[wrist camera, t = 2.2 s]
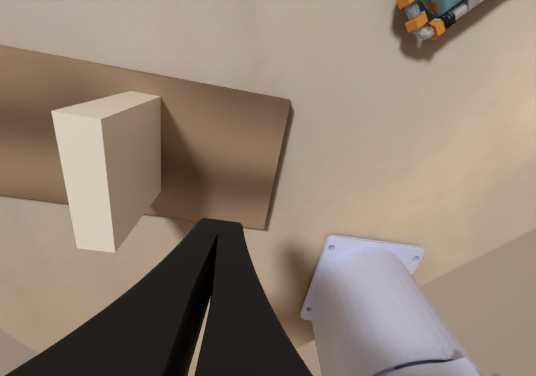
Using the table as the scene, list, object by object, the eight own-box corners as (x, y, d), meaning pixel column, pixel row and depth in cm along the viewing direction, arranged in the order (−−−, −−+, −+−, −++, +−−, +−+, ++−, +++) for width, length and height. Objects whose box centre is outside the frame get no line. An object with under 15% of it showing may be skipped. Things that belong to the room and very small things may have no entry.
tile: (160, 190, 17) (115, 252, 12) (135, 187, 17) (76, 248, 11) (160, 96, 14) (100, 119, 9) (129, 90, 14) (49, 110, 9)
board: (263, 223, 19) (263, 229, 18) (-32, 183, 17) (-45, 189, 16) (289, 99, 15) (290, 101, 15) (-91, 27, 13) (-111, 26, 12)
